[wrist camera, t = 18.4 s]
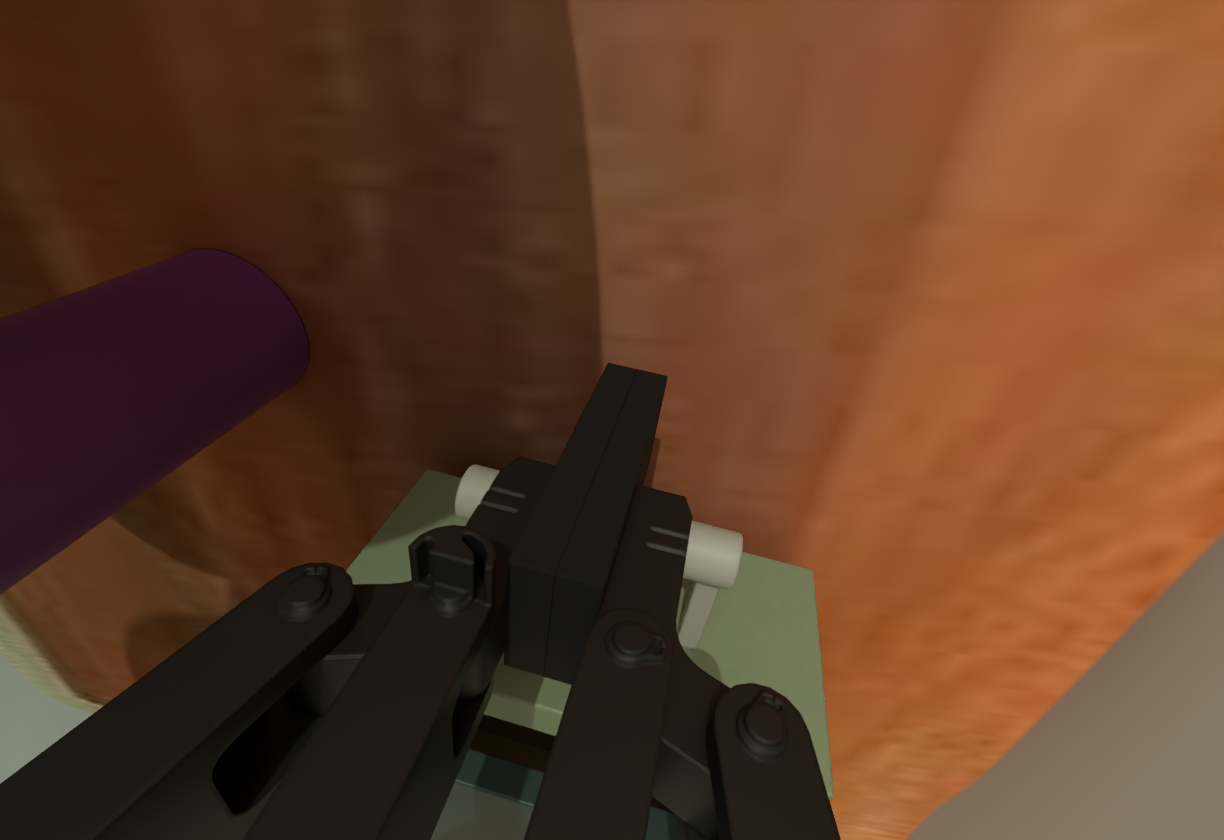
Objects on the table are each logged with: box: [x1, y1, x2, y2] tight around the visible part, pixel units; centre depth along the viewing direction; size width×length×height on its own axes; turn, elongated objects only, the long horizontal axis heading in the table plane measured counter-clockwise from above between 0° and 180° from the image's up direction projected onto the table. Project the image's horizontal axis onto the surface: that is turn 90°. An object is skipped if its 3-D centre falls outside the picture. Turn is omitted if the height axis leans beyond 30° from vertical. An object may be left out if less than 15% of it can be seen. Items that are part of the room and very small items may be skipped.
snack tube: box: [0, 249, 309, 595], centre depth 14 cm, size 5×5×14 cm
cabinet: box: [430, 748, 679, 840], centre depth 23 cm, size 17×15×9 cm
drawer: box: [346, 465, 834, 813], centre depth 20 cm, size 20×14×7 cm
